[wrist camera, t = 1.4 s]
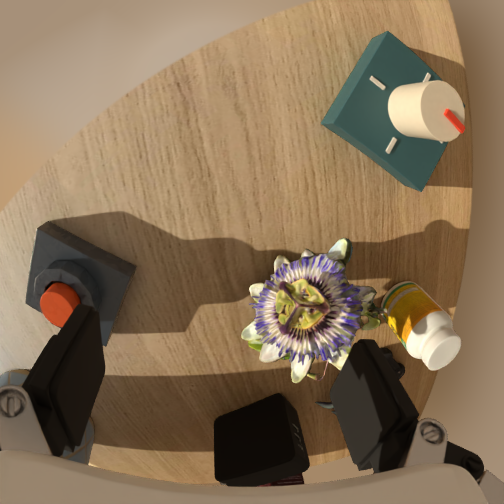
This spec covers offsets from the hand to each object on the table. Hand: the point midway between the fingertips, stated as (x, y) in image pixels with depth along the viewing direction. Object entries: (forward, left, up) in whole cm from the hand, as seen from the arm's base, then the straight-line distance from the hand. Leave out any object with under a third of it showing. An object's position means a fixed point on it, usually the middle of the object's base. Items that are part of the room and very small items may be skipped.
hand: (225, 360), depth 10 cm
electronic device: (+15, -21, -17) cm, 31 cm away
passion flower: (+10, -3, -17) cm, 20 cm away
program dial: (+8, +16, -14) cm, 23 cm away
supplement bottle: (+21, +1, -17) cm, 27 cm away
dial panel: (+8, +16, -17) cm, 24 cm away
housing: (-10, -12, -17) cm, 23 cm away
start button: (-10, -12, -13) cm, 20 cm away
